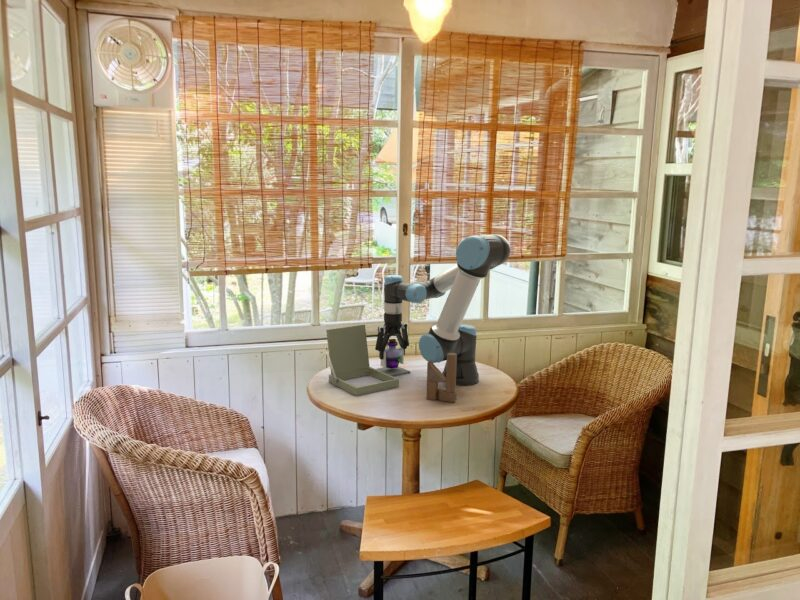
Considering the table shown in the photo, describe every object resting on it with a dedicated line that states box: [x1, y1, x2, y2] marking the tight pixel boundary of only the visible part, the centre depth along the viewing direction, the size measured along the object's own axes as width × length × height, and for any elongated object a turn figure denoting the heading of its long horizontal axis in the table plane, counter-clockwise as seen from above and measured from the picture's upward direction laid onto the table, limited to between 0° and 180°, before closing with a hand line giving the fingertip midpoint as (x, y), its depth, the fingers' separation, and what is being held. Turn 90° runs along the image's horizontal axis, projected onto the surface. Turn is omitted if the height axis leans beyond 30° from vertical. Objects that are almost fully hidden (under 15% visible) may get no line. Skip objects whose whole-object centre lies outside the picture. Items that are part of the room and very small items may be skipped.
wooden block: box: [426, 353, 458, 403], centre depth 230 cm, size 4×11×18 cm, turn 71°
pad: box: [376, 366, 411, 377], centre depth 265 cm, size 11×11×1 cm
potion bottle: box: [385, 338, 402, 369], centre depth 263 cm, size 9×9×12 cm
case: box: [324, 324, 400, 397], centre depth 247 cm, size 24×21×21 cm
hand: (392, 364), depth 264 cm, fingers closed on potion bottle, 9 cm apart
